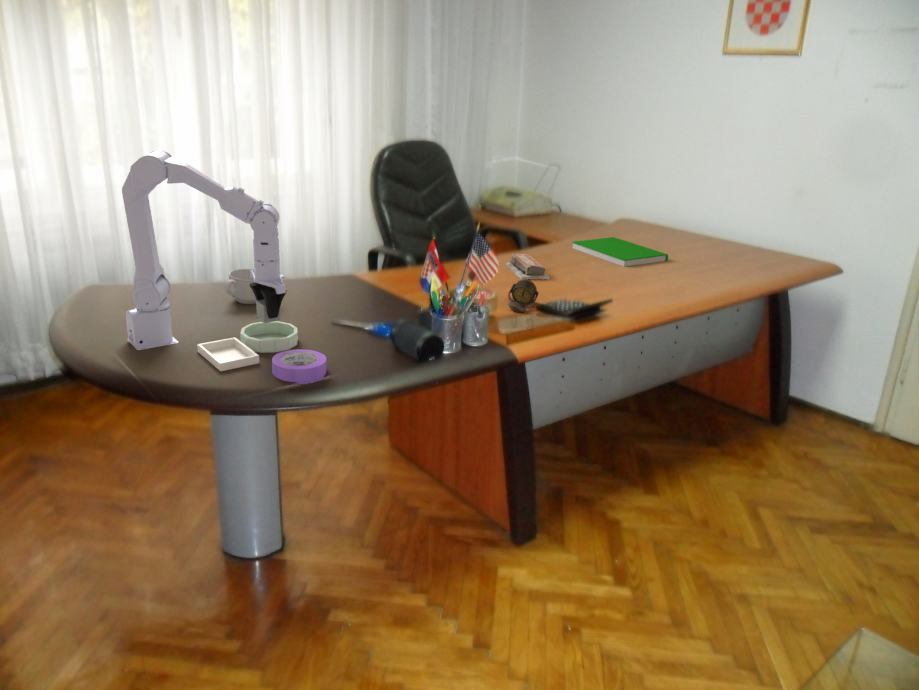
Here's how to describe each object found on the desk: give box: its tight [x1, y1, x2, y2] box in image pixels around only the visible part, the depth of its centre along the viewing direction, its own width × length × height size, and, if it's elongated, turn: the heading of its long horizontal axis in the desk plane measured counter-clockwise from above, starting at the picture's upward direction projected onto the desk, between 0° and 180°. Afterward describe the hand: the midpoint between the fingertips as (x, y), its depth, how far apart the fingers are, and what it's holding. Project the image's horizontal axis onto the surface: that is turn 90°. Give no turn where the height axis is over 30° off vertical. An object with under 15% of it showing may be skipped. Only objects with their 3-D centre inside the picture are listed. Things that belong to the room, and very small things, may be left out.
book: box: [571, 236, 669, 268], centre depth 284 cm, size 22×28×3 cm
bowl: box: [239, 320, 299, 353], centre depth 181 cm, size 13×13×4 cm
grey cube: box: [255, 299, 281, 323], centre depth 178 cm, size 4×4×4 cm
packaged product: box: [505, 253, 551, 280], centre depth 254 cm, size 18×5×10 cm
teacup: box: [224, 267, 256, 305], centre depth 208 cm, size 14×11×8 cm
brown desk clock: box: [507, 279, 539, 313], centre depth 219 cm, size 7×13×10 cm
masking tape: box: [271, 348, 328, 386], centre depth 166 cm, size 12×12×4 cm
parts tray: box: [196, 336, 260, 372], centre depth 171 cm, size 9×13×2 cm
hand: (268, 314), depth 179 cm, fingers closed on grey cube, 4 cm apart
